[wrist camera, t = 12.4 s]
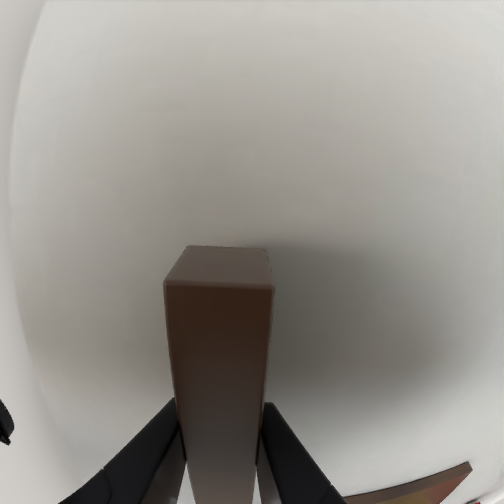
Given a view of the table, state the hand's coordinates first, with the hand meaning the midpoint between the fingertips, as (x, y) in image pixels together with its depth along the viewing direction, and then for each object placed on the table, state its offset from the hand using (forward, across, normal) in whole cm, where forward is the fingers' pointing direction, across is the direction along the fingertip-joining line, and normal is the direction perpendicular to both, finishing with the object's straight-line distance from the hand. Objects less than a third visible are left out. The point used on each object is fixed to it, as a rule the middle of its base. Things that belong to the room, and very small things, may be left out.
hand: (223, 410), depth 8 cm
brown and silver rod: (+1, 0, +6) cm, 6 cm away
